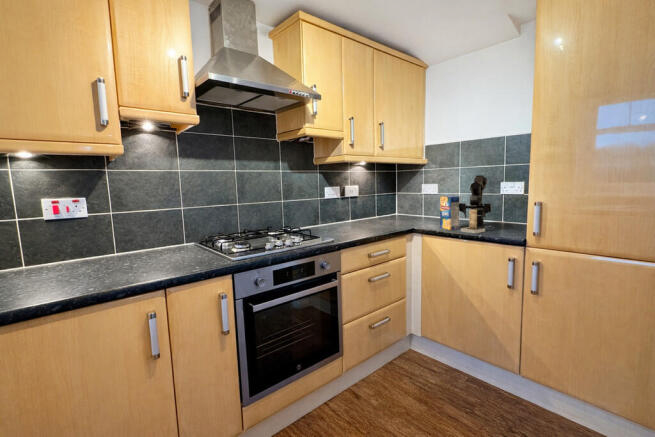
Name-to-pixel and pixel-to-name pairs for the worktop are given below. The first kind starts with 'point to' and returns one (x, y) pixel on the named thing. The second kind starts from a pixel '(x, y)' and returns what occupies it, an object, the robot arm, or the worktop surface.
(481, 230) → the hole plate
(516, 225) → the worktop surface
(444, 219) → the blue yellow food box
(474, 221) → the maple peg
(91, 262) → the worktop surface
